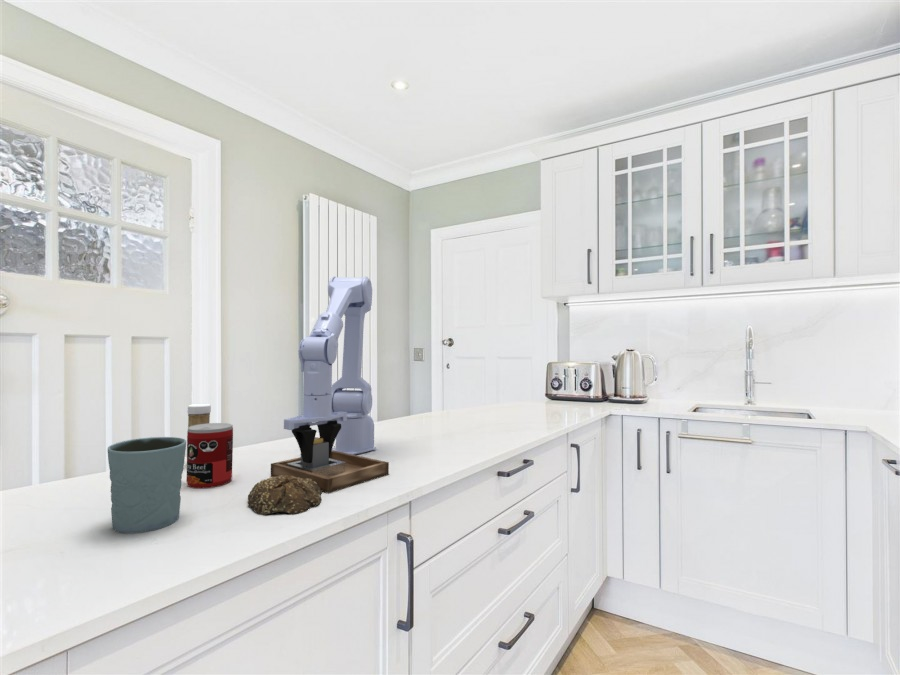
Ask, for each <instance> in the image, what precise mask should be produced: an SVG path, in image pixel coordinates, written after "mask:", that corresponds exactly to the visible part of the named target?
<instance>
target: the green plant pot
mask: <svg viewBox="0 0 900 675" xmlns="http://www.w3.org/2000/svg"><path fill="white" fill-rule="evenodd" d="M186 451H187V440H186V439H185V438H181V437H176V436H175V437H173V436H153V437H152V436H151V437H142V438H141V437H140V438H133V439H127V440H122V441H119V442H116V443H113V444H111V445H109V446H108V447H107V460H108V461H107V462H108V467H109V479H110V501H111V508H110V510H111V511H110V512H111V514H110V515H111V527H112V529H113V531H115V532H118V533H121V534H137V533H147V532H151V531H156V530H159V529H162V528H163V529H164V528H166V527H167V526H168V527H169V526H170V525H172V524H174V523H176V522H178V520H179V517H180V512H181V508H180V507H181V499H182V498H181V489H182V488H181V487H182V485H183V484H182V477H183V473H184V472H183V471H184V466H185V459H186V458H185V457H186Z"/></svg>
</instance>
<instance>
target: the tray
mask: <svg viewBox="0 0 900 675" xmlns="http://www.w3.org/2000/svg"><path fill="white" fill-rule="evenodd" d="M330 459H334V460H339V461H343V462H346V472H343V473H339V474H336V475H332V476H328V477H326V476H322V475H319V474H315V473H311V472H308V471H304V470H300V469H296V468H293V467H289V466H287V463H292V462H296V461H300V460H301V456H300V457H295V458H291V459H284V460H281V461H277V462H276V461H275V462H273V463H272V462H271V463H270V477H277V476H280V475H287V476H294V477H297V478H303V479H312V481H315V482H316V483H317V484H318V486H319V487H320V489H321V492H322V493H325V494H328V493H333V492H335V491H336V492H337V491H339V490H341V489H345V488H349V487H351V486H355V485H358V483H359V484H362V483H364V481H365V482H368V481H370V480H371V479H372V480H375V479H377V477H378V478H381V477H384V475H385V476H388V475H389V474H390V472H389V469H390V468H389V467H390V466H389V465H390V464H389V463H390V462H388V461H383V460H379V459H374V458H370V457H367V456H366V457H365V456H363V455H362V456H361V455H358V454H355V455H353V454H348V453H343V452H339V451H334V450H332V451H331V455H330ZM374 478H375V479H374ZM361 482H362V483H361ZM348 486H349V487H348Z"/></svg>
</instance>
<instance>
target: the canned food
mask: <svg viewBox="0 0 900 675" xmlns="http://www.w3.org/2000/svg"><path fill="white" fill-rule="evenodd" d="M186 434H187V436H186V437H187V438H186V439H187V440H186V483H187V486H188V487H190V488H193V489H209V488H215V487H221V486H223V485H227V484H228V483H229V482H231V480H232V477H233V458H234V457H233V452H234V451H233V450H234V448H233V446H234V444H233V443H234V427H233V424H231V423H227V422H211V423H208V424H199V425H194V426H190V427H188V426H187V433H186Z"/></svg>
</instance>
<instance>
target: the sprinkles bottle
mask: <svg viewBox="0 0 900 675" xmlns="http://www.w3.org/2000/svg"><path fill="white" fill-rule="evenodd" d="M211 409H212V406H211V404H210V403H192V404H189V405H187V416H188V421H187V422H188V423H187V424H188V425H187V428H188V427H190V426H194V425H199V424H208V423H210V421H211V420H210V419H211V418H210V417H211V416H210V415H211V411H212V410H211Z"/></svg>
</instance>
